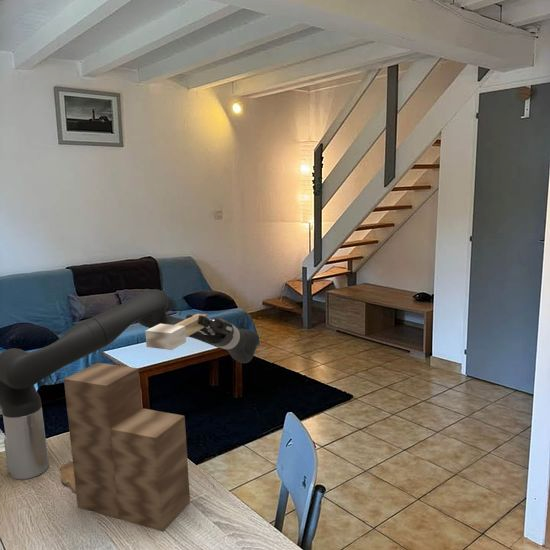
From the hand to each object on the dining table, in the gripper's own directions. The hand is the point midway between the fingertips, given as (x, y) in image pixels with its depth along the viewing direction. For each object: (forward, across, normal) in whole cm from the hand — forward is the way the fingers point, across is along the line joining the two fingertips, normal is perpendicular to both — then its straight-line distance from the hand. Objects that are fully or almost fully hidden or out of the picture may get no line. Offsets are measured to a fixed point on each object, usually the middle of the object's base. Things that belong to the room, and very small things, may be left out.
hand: (193, 318), depth 133 cm
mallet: (+3, 0, +5) cm, 6 cm away
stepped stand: (0, -6, +46) cm, 46 cm away
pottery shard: (-5, -27, +44) cm, 52 cm away
